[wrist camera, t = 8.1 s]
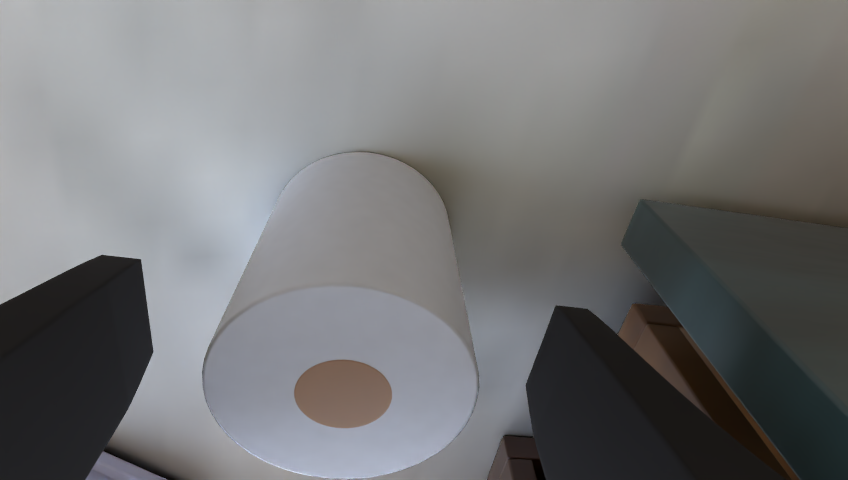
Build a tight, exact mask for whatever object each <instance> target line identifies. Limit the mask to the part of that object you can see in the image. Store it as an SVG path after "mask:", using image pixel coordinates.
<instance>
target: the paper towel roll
mask: <svg viewBox="0 0 848 480" xmlns="http://www.w3.org/2000/svg"><path fill="white" fill-rule="evenodd" d="M202 379H203V390H204V394H205V399H206V402H207V404H208V407H209V409H210V411H211V413H212V415H213V417H214V418H215V420H216V421H217V423H218V425H219V426H220V427H221V428H222V429H223V430H224V432H225V433H226V434H227V435H228V436H229V437H230V438H231V439H232V440H233V441H235V442H236V443H237V444H238V445H239V446H241V447H242V448H243V449H245V450H246V451H248V452H249V453H250V454H252V455H254V456H256V457H258V458H259V459H261V460H263V461H265V462H267V463H270V464H272V465H274V466H276V467H279V468H282V469H285V470H288V471H291V472H295V473H299V474H303V475H308V476H314V477H320V478H332V479H358V478H369V477H375V476H381V475H386V474H390V473H394V472H397V471H401V470H403V469H406V468H409V467H412V466H414V465H416V464H418V463H420V462H423V461H425V460H427V459H428V458H430V457H432V456H433V455H435V454H437V453H438V452H439V451H441V450H442V449H443V448H445V447H446V446H447V445H448V444H450V443H451V442H452V441H453V440H454V439H455V438H456V437H457V436H458V435H459V433H460V432H461V431H462V429H463V428H464V427H465V425H466V424H467V422H468V420H469V418H470V417H471V415H472V413H473V410H474V407H475V404H476V401H477V397H478V391H479V373H478V367H477V362H476V357H475V352H474V347H473V342H472V337H471V332H470V326H469V321H468V316H467V311H466V306H465V301H464V296H463V291H462V286H461V280H460V275H459V270H458V265H457V260H456V255H455V250H454V245H453V239H452V234H451V229H450V224H449V219H448V214H447V211H446V208H445V205H444V203H443V201H442V199H441V197H440V195H439V194H438V192H437V191H436V190H435V188H434V187H433V185H432V184H431V183H430V182H429V181H428V180H427V179H426V178H425V177H424V176H423V175H421V174H420V173H419V172H418V171H416V170H415V169H413V168H412V167H410V166H408V165H407V164H405V163H403V162H401V161H399V160H396V159H394V158H391V157H388V156H384V155H381V154H375V153H369V152H349V153H341V154H336V155H331V156H328V157H326V158H323V159H320V160H318V161H316V162H314V163H312V164H310V165H308V166H307V167H305V168H304V169H303V170H301V171H300V172H298V173H297V174H296V175H295V176H294V177H293V178H292V179H291V180H290V181H289V183H288V184H287V185H286V186H285V188H284V189H283V191H282V193H281V194H280V196H279V198H278V200H277V202H276V204H275V207H274V209H273V211H272V213H271V215H270V217H269V219H268V221H267V224H266V226H265V228H264V230H263V232H262V234H261V236H260V238H259V241H258V243H257V245H256V247H255V249H254V251H253V253H252V255H251V258H250V260H249V262H248V264H247V266H246V268H245V270H244V272H243V275H242V277H241V279H240V281H239V283H238V285H237V287H236V289H235V292H234V294H233V296H232V298H231V300H230V302H229V304H228V306H227V309H226V311H225V313H224V315H223V317H222V319H221V321H220V323H219V326H218V328H217V330H216V332H215V334H214V336H213V338H212V340H211V343H210V345H209V347H208V350H207V353H206V356H205V358H204V364H203V371H202Z"/></svg>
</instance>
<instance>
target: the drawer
mask: <svg viewBox="0 0 848 480" xmlns="http://www.w3.org/2000/svg"><path fill="white" fill-rule="evenodd" d="M621 246H622V247H623V248H624V250H625V251H626V252H627V254H628V255H629V256H630V258H631V259H632V260H633V261H634V263H635V264H636V265H637V267H638V268H639V269H640V271H641V272H642V273H643V275H644V276H645V277H646V279H647V280H648V281H649V282H650V284H651V285H652V286H653V288H654V289H655V290H656V292H657V293H658V294H659V296H660V297H661V298H662V300H663V301H664V302H665V304H666V305H667V306H668V307H666V306H657V305H648V304H639V303H633V304H632V305H631V308H630V310H629V312H628V314H627V316H626V318H625V320H624V322H623V324H622V327H621V329H620V331H619V333H618V336H619V337H620V338H622V339H623V340H624V341H625V342H626V343H627V344H628V345H629V346H630V347H631V348H632V349H633V350H634V351H636V352H637V353H638V354H639V355H640V356H641V357H642V358H643V359H644V360H645V361H646V362H647V363H649V364H650V365H651V366H652V367H653V368H654V369H655V370H656V371H657V372H658V373H659V374H661V375H662V376H663V377H664V378H665V379H666V380H667V381H668V382H669V383H670V384H672V385H673V386H674V387H675V388H676V389H677V390H678V391H679V392H680V393H682V394H683V395H684V396H685V397H686V398H687V399H688V400H689V401H691V402H692V403H693V404H694V405H695V406H696V407H697V408H699V409H700V410H701V411H702V412H703V413H704V414H706V415H707V416H708V417H709V418H710V419H711V420H713V421H714V422H715V423H716V424H717V425H719V426H720V427H721V428H722V429H723V430H725V431H726V432H727V433H728V434H729V435H731V436H732V437H733V438H734V439H735V440H737V441H738V442H739V443H740V444H741V445H743V446H744V447H745V448H746V449H747V450H749V451H750V452H751V453H752V454H754V455H755V456H756V457H758V458H759V459H760V460H761V461H763V462H764V463H765V464H766V465H768V466H769V467H770V468H772V469H773V470H774V471H776V472H777V473H778V474H780V475H781V476H782V477H784V478H785V479H786V480H848V228H842V227H835V226H828V225H820V224H813V223H806V222H799V221H792V220H785V219H778V218H771V217H764V216H757V215H750V214H743V213H736V212H729V211H721V210H714V209H707V208H700V207H693V206H686V205H679V204H672V203H665V202H658V201H651V200H644V199H641V200H640V201H639V202H638V205H637V207H636V209H635V212H634V214H633V216H632V219H631V221H630V223H629V226H628V228H627V230H626V233H625V235H624V238H623V240H622V242H621Z"/></svg>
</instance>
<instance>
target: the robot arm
mask: <svg viewBox="0 0 848 480" xmlns="http://www.w3.org/2000/svg"><path fill="white" fill-rule="evenodd" d="M152 354H153V346H152V339H151V331H150V324H149V316H148V309H147V301H146V294H145V286H144V279H143V272H142V264H141V259H133V258H124V257H115V256H106V255H101V256H98V257H96V258H94V259H91V260H89V261H87V262H85V263H82V264H80V265H78V266H76V267H74V268H72V269H70V270H68V271H66V272H64V273H62V274H60V275H58V276H56V277H54V278H52V279H50V280H48V281H46V282H44V283H42V284H40V285H38V286H36V287H34V288H32V289H30V290H28V291H26V292H24V293H22V294H21V295H19V296H17V297H15V298H13V299H11V300H9V301H7V302H5V303H3V304H1V305H0V480H167V479H165V478H162V477H160V476H158V475H156V474H153V473H151V472H149V471H147V470H144V469H142V468H140V467H138V466H135V465H133V464H131V463H129V462H126V461H124V460H122V459H120V458H117V457H115V456H113V455H111V454H108V453H106V452H104V451H103V450H104V448H105V447H106V445H107V443H108V442H109V440H110V438H111V437H112V435H113V433H114V432H115V430H116V428H117V427H118V425H119V423H120V422H121V420H122V418H123V417H124V415H125V413H126V411H127V410H128V408H129V406H130V404H131V402H132V400H133V397H134V395H135V393H136V391H137V389H138V387H139V384H140V382H141V380H142V377H143V375H144V373H145V370H146V368H147V366H148V363H149V361H150V359H151V356H152ZM526 391H527V398H528V405H529V412H530V418H531V424H532V429H533V435H534V440H535V443H536V447H537V451H538V454H539V457H540V461H541V464H542V468H543V471H544V475H545V478H546V480H786V479H785V478H784V477H782V476H781V475H780V474H778V473H777V472H776V471H774V470H773V469H772V468H770V467H769V466H768V465H766V464H765V463H764V462H763V461H761V460H760V459H759V458H758V457H756V456H755V455H754V454H752V453H751V452H750V451H749V450H747V449H746V448H745V447H744V446H743V445H741V444H740V443H739V442H738V441H737V440H735V439H734V438H733V437H732V436H731V435H729V434H728V433H727V432H726V431H725V430H723V429H722V428H721V427H720V426H719V425H717V424H716V423H715V422H714V421H713V420H711V419H710V418H709V417H708V416H707V415H706V414H704V413H703V412H702V411H701V410H700V409H699V408H697V407H696V406H695V405H694V404H693V403H692V402H691V401H689V400H688V399H687V398H686V397H685V396H684V395H683V394H682V393H680V392H679V391H678V390H677V389H676V388H675V387H674V386H673V385H672V384H670V383H669V382H668V381H667V380H666V379H665V378H664V377H663V376H662V375H661V374H659V373H658V372H657V371H656V370H655V369H654V368H653V367H652V366H651V365H650V364H649V363H647V362H646V361H645V360H644V359H643V358H642V357H641V356H640V355H639V354H638V353H637V352H636V351H634V350H633V349H632V348H631V347H630V346H629V345H628V344H627V343H626V342H625V341H624V340H623V339H622V338H620V337H619V336H618V335H617V334H616V333H615V332H614V331H613V330H612V329H611V328H609V327H608V326H607V325H606V324H605V323H604V322H603V321H601V320H600V319H599V318H598V317H597V316H596V315H594V314H593V313H592V312H591V311H589V310H588V309H583V308H574V307H565V306H556V307H555V309H554V312H553V314H552V317H551V320H550V322H549V325H548V328H547V330H546V333H545V336H544V338H543V341H542V343H541V346H540V349H539V351H538V354H537V357H536V359H535V362H534V365H533V367H532V370H531V372H530V375H529V378H528V380H527V383H526Z"/></svg>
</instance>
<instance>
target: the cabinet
mask: <svg viewBox="0 0 848 480" xmlns="http://www.w3.org/2000/svg"><path fill="white" fill-rule="evenodd" d="M487 480H546V478H545V475H544V471H543V468H542V464H541V461H540V457H539V454H538V451H537V447H536V443H535V440H534V438H528V437H515V436H503V438H502V440H501V443H500V446H499V448H498V451H497V454H496V456H495V459H494V462H493V464H492V467H491V470H490V472H489V475H488V478H487Z"/></svg>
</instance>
